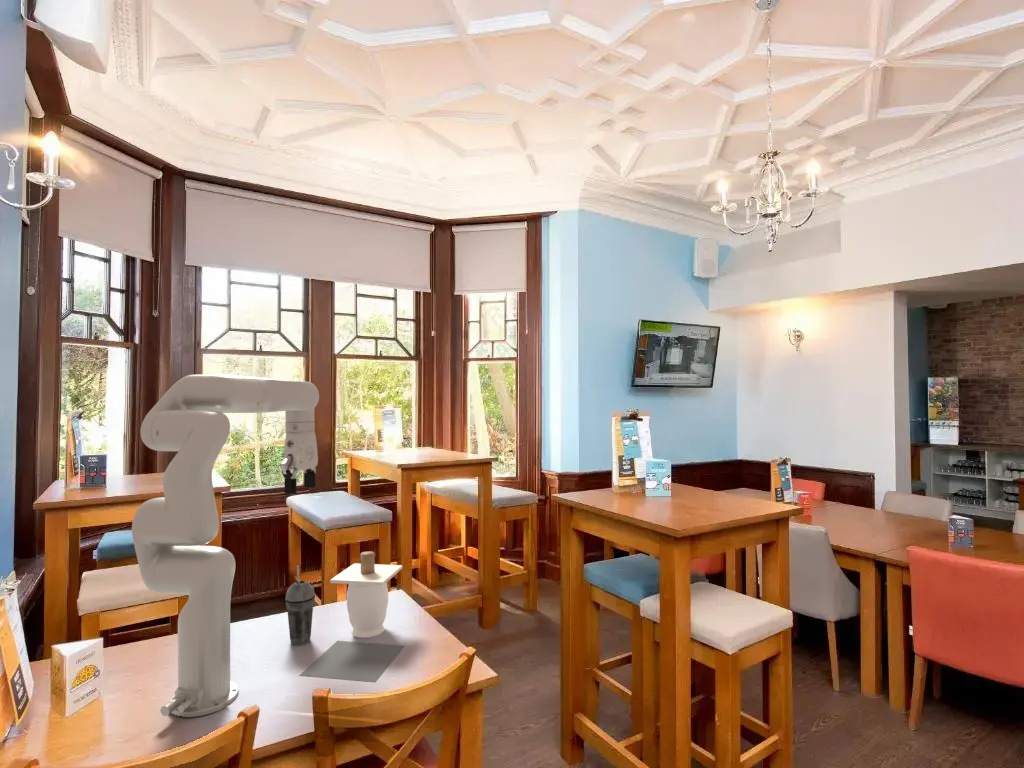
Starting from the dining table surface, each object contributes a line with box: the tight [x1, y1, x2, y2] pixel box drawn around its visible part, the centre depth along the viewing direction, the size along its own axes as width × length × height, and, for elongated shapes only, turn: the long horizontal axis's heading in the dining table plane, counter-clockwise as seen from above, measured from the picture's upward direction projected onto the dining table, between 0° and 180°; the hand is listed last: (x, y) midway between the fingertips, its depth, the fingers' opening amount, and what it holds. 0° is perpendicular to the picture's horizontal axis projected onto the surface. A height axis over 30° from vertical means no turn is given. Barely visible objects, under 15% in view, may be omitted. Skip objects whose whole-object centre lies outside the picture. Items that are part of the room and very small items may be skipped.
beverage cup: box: [284, 565, 316, 647], centre depth 145 cm, size 7×7×20 cm
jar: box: [346, 582, 389, 638], centre depth 152 cm, size 11×10×15 cm
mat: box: [298, 640, 406, 683], centre depth 135 cm, size 18×18×1 cm
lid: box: [329, 551, 403, 586], centre depth 152 cm, size 14×14×6 cm
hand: (300, 490), depth 158 cm, fingers open, 9 cm apart
